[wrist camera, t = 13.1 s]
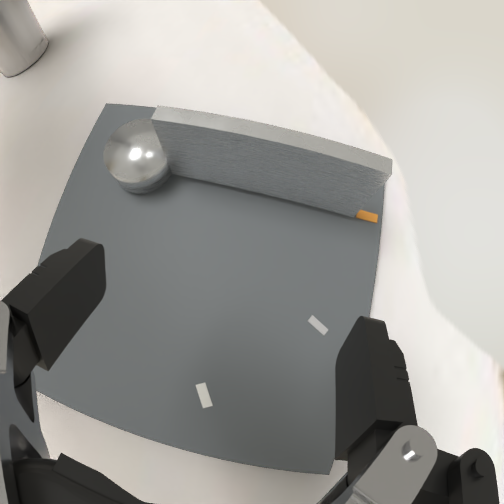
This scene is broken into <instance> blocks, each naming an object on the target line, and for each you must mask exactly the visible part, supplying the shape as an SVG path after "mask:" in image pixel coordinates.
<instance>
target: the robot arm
mask: <svg viewBox="0 0 504 504" xmlns="http://www.w3.org/2000/svg"><path fill="white" fill-rule="evenodd" d="M47 46H48V40H47V38H46V36H45V34H44V32H43V30H42V29H41V27H40V25H39V23H38V21H37V19H36V17H35V15H34V13H33V11H32V9H31V7H30V5H29V3H28V1H27V0H0V72H2V73H3V75H4V76H6V77H11V76H14V75H17V74H19V73H21V72H22V71H24V70H26V69H27V68H28V67H30V66H31V65H32V64H33V63H35V62H36V61H37V60H38V59H39V58H40V56H41V55H42V54H43V53H44V51H45V50H46V48H47ZM105 291H106V269H105V251H104V247H103V245H102V244H100V243H97V242H93V241H90V240H87V239H84V238H80V239H78V240H77V241H76V242H75V243H73V244H72V245H71V246H70V247H69V248H68V249H62V250H60V251H58V252H56V253H54V254H51V255H50V256H49V257H48V258H46V259H45V260H44V261H43V262H42V263H41V264H40V266H37V267H36V268H35V269H34V270H33V271H32V273H31V274H29V275H28V276H26V277H25V278H24V279H23V280H22V281H21V282H20V283H19V284H18V285H17V286H16V287H15V288H14V289H13V290H12V291H11V292H10V293H9V294H8V295H6V296H5V297H4V298H3V299H2V300H1V301H0V504H153V503H146V502H143V501H141V500H139V499H137V498H136V497H134V496H133V495H131V494H130V493H128V492H127V491H125V490H124V489H122V488H121V487H120V486H118V485H117V484H115V483H114V482H113V481H111V480H110V479H108V478H107V477H106V476H104V475H103V474H102V473H100V472H98V471H96V470H94V469H92V468H90V467H88V466H86V465H84V464H81V463H80V462H78V461H76V460H74V459H72V458H70V457H68V456H66V455H64V454H62V453H61V454H60V456H59V458H58V460H53V459H50V456H49V452H48V448H47V445H46V442H45V440H44V438H43V435H42V432H41V428H40V422H39V414H38V405H37V395H36V383H35V374H34V371H33V369H34V367H35V366H36V365H37V366H39V367H41V368H43V369H44V370H46V371H49V370H50V369H51V367H52V366H53V364H54V363H55V362H56V360H57V359H58V357H59V356H60V355H61V353H62V352H63V350H64V349H65V348H66V346H67V345H68V344H69V342H70V341H71V340H72V338H73V337H74V336H75V334H76V333H77V332H78V330H79V329H80V328H81V326H82V325H83V324H84V323H85V321H86V320H87V319H88V317H89V316H90V315H91V313H92V312H93V311H94V310H95V308H96V307H97V306H98V305H99V303H100V302H101V301H102V299H103V297H104V294H105ZM408 380H409V377H408V373H407V371H406V363H405V359H404V355H403V353H402V351H401V350H400V348H399V346H398V345H397V343H396V342H395V341H394V340H389V337H388V333H387V328H386V324H385V322H384V321H382V320H377V319H373V318H369V317H365V316H360V317H359V318H358V319H357V320H356V322H355V324H354V326H353V327H352V329H351V331H350V333H349V335H348V336H347V338H346V340H345V342H344V343H343V345H342V347H341V349H340V351H339V353H338V356H337V359H336V365H335V387H336V427H335V460H345V461H348V472H347V473H346V474H345V475H344V476H343V477H342V478H341V479H340V480H339V481H338V482H337V484H336V485H335V486H334V487H333V488H332V489H331V490H330V491H329V492H328V493H327V494H326V495H325V496H324V497H323V498H322V499H321V500H320V501H319V502H318V503H317V504H499V496H498V488H497V480H496V473H495V467H494V464H493V461H492V459H491V458H490V456H489V455H488V454H487V453H486V452H485V451H483V450H481V449H478V448H472V449H469V450H468V451H466V452H465V453H464V454H462V455H461V456H460V457H458V456H455V455H453V454H450V453H447V452H444V451H442V450H439V449H437V446H436V443H435V441H434V439H433V438H432V436H431V435H430V434H429V433H428V432H427V431H426V430H424V429H423V428H421V427H418V425H417V420H416V414H415V408H414V403H413V397H412V392H411V387H410V382H408Z"/></svg>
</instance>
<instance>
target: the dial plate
mask: <svg viewBox="0 0 504 504" xmlns="http://www.w3.org/2000/svg"><path fill="white" fill-rule="evenodd" d="M155 110H156V108H155V107H145V106H134V105H122V104H107V103H106V105H105V107H104V109H103V110H102V112H101V114H100V116H99V118H98V120H97V121H96V123H95V125H94V127H93V129H92V131H91V133H90V135H89V137H88V139H87V141H86V143H85V145H84V147H83V149H82V151H81V153H80V155H79V158H78V160H77V162H76V164H75V166H74V169H73V171H72V173H71V175H70V178H69V180H68V182H67V185H66V187H65V189H64V192H63V194H62V197H61V199H60V202H59V204H58V207H57V210H56V212H55V215H54V218H53V220H52V223H51V226H50V229H49V232H48V235H47V238H46V241H45V244H44V247H43V250H42V253H41V256H40V260H39V263H38V266H40V264H41V263H42V262H43V261H44V260H45V259H46V258H48V257H49V256H50V255H51V254H54V253H56V252H58V251H60V250H62V249H68V248H69V247H70V246H71V245H72V244H73V243H75V242H76V241H77V240H78V239H80V238H84V239H87V240H90V241H93V242H97V243H100V244H102V245H103V247H104V251H105V269H106V291H105V294H104V297H103V299H102V301H101V302H100V303H99V305H98V306H97V307H96V308H95V310H94V311H93V312H92V313H91V315H90V316H89V317H88V319H87V320H86V321H85V323H84V324H83V325H82V326H81V328H80V329H79V330H78V332H77V333H76V334H75V336H74V337H73V338H72V340H71V341H70V342H69V344H68V345H67V346H66V348H65V349H64V350H63V352H62V353H61V355H60V356H59V357H58V359H57V360H56V362H55V363H54V364H53V366H52V367H51V369H50V370H49V371H46V370H44V369H43V368H41V367H39V366H37V365H36V366H35V367H34V369H33V371H34V374H35V383H36V391H38V392H40V393H42V394H44V395H46V396H48V397H50V398H52V399H53V400H55V401H57V402H60V403H62V404H64V405H66V406H68V407H70V408H72V409H74V410H76V411H78V412H81V413H83V414H85V415H87V416H90V417H92V418H94V419H97V420H99V421H102V422H104V423H106V424H109V425H111V426H114V427H117V428H119V429H122V430H124V431H127V432H130V433H133V434H135V435H138V436H141V437H144V438H147V439H150V440H153V441H156V442H159V443H162V444H166V445H169V446H172V447H176V448H179V449H183V450H186V451H190V452H194V453H198V454H201V455H206V456H210V457H214V458H218V459H223V460H227V461H232V462H237V463H242V464H247V465H253V466H259V467H265V468H271V469H278V470H285V471H294V472H302V473H313V474H325V475H329V473H330V470H331V467H332V464H333V461H334V458H335V427H336V387H335V365H336V359H337V356H338V353H339V351H340V349H341V347H342V345H343V343H344V342H345V340H346V338H347V336H348V335H349V333H350V331H351V329H352V327H353V326H354V324H355V322H356V320H357V319H358V318H359V317H360V316H365V317H369V314H370V308H371V302H372V296H373V289H374V282H375V275H376V268H377V260H378V252H379V243H380V233H381V223H382V212H383V199H384V184H383V185H382V186H381V187H380V188H379V190H378V191H377V192H376V193H375V194H374V195H373V196H372V197H371V199H370V200H369V201H368V202H367V203H366V204H365V205H364V206H363V207H362V209H361V210H360V211H359V212H358V213H357V214H356V215H355V216H354V217H351V216H347V215H343V214H340V213H336V212H333V211H329V210H325V209H321V208H318V207H314V206H310V205H306V204H302V203H298V202H294V201H290V200H286V199H282V198H278V197H274V196H270V195H266V194H262V193H258V192H253V191H249V190H245V189H241V188H236V187H232V186H227V185H223V184H218V183H214V182H209V181H204V180H200V179H195V178H190V177H185V176H180V175H175V174H173V175H172V176H171V178H170V179H169V180H168V181H167V182H166V183H165V184H164V185H163V186H162V187H160V188H158V189H156V190H154V191H152V192H149V193H144V194H136V193H131V192H128V191H126V190H125V189H123V188H122V187H121V186H120V185H119V184H118V182H117V181H116V180H115V178H114V177H113V176H112V174H111V173H110V172H109V170H108V169H107V167H106V165H105V163H104V149H105V145H106V143H107V141H108V139H109V138H110V136H111V135H112V134H113V133H114V132H115V131H116V130H117V129H118V128H119V127H121V126H122V125H124V124H126V123H128V122H130V121H133V120H137V119H151V118H152V116H153V114H154V112H155Z"/></svg>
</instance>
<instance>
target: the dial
mask: <svg viewBox="0 0 504 504" xmlns="http://www.w3.org/2000/svg"><path fill="white" fill-rule="evenodd" d="M104 163H105V165H106V167H107V169H108V170H109V172H110V173H111V174H112V176H113V177H114V178H115V180H116V181H117V182H118V184H119V185H120V186H121V187H122V188H123V189H125V190H126V191H128V192H131V193H136V194H144V193H149V192H152V191H154V190H156V189H158V188H160V187H162V186H163V185H164V184H165V183H166V182H167V181H168V180H169V179H170V178H171V176H172V175H173V174H175V175H180V176H185V177H190V178H195V179H200V180H204V181H209V182H214V183H218V184H223V185H227V186H232V187H236V188H241V189H245V190H249V191H253V192H258V193H262V194H266V195H270V196H274V197H278V198H282V199H286V200H290V201H294V202H298V203H302V204H306V205H310V206H314V207H318V208H321V209H325V210H329V211H333V212H336V213H340V214H343V215H347V216H351V217H354V216H355V215H356V214H357V213H358V212H359V211H360V210H361V209H362V207H363V206H364V205H365V204H366V203H367V202H368V201H369V200H370V199H371V197H372V196H373V195H374V194H375V193H376V192H377V191H378V190H379V188H380V187H381V186H382V185H383V184H384V183H385V182H386V181H387V179H388V178H389V177H390V176H391V175H392V159H389V158H387V157H384V156H381V155H378V154H375V153H371V152H368V151H365V150H362V149H359V148H356V147H352V146H349V145H346V144H342V143H339V142H335V141H332V140H328V139H325V138H321V137H317V136H314V135H310V134H306V133H302V132H298V131H294V130H290V129H286V128H281V127H277V126H273V125H268V124H264V123H259V122H254V121H250V120H245V119H240V118H234V117H229V116H224V115H218V114H212V113H206V112H200V111H193V110H187V109H180V108H172V107H165V106H157V108H156V110H155V112H154V114H153V116H152V118H151V119H137V120H133V121H130V122H128V123H126V124H124V125H122V126H121V127H119V128H118V129H117V130H116V131H115V132H114V133H113V134H112V135H111V136H110V138H109V139H108V141H107V143H106V145H105V149H104Z"/></svg>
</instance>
